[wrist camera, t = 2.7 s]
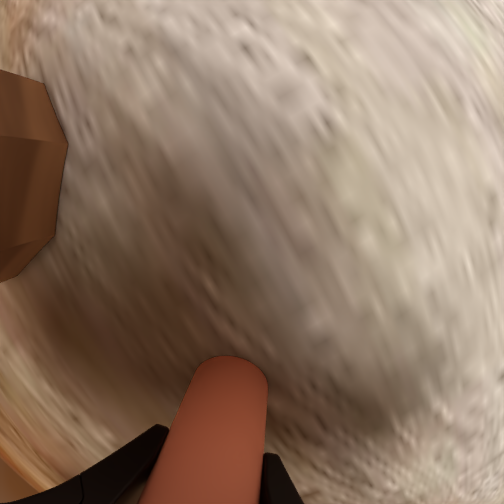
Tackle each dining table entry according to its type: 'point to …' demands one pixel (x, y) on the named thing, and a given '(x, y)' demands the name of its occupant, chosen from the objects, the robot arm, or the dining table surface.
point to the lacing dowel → (214, 439)
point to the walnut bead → (27, 171)
